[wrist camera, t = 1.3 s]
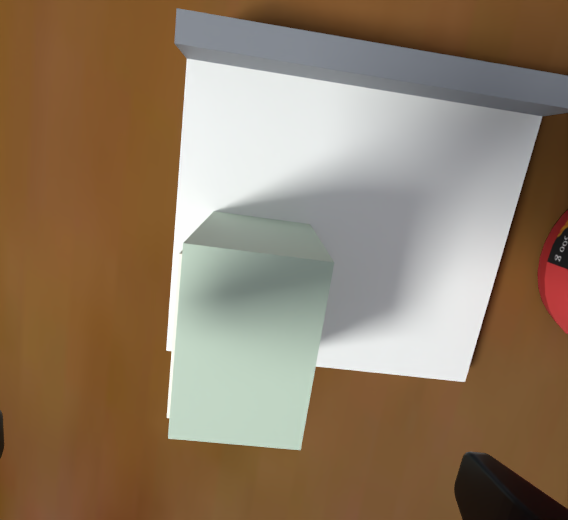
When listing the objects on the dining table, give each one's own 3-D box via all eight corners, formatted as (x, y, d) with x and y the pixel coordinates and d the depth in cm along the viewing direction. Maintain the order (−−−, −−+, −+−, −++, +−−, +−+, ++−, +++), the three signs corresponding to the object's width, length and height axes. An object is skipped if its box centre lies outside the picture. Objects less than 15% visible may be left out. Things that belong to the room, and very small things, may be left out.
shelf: (454, 370, 19) (488, 408, 16) (171, 340, 18) (153, 375, 15) (534, 90, 16) (592, 76, 13) (194, 33, 15) (176, 4, 12)
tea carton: (310, 224, 16) (334, 262, 10) (289, 353, 18) (300, 450, 12) (209, 210, 16) (176, 242, 10) (197, 343, 17) (162, 438, 12)
